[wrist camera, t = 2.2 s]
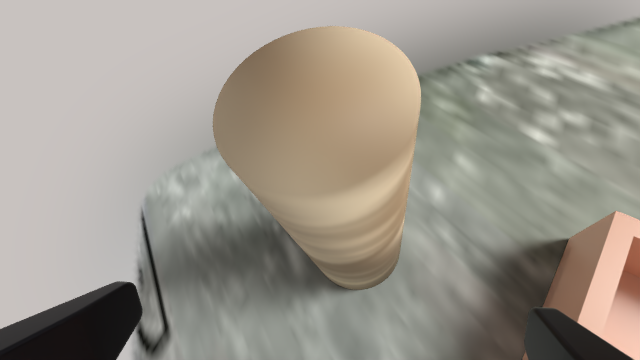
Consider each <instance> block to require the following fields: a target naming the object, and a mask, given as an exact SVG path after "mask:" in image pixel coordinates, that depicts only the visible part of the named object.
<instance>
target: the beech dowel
mask: <svg viewBox="0 0 640 360" xmlns="http://www.w3.org/2000/svg"><path fill="white" fill-rule="evenodd" d="M420 106H421V90H420V83H419V79H418V77H417V74H416V71H415V69H414V67H413V66H412V64H411V62H410V61H409V59H408V58H407V57H406V56H405V54H404V53H403V52H402V51H400V49H398V48H397V47H396V46H395V45H393V44H392V43H391V42H389V41H388V40H386V39H384V38H382V37H380V36H378V35H376V34H374V33H370V32H368V31H364V30H360V29H356V28H350V27H339V26H328V27H316V28H310V29H305V30H301V31H297V32H294V33H291V34H288V35H285V36H283V37H280V38H278V39H276V40H274V41H272V42H270V43H268V44H266V45H264V46H263V47H261V48H260V49H258V50H257V51H255V52H254V53H253V54H251V55H250V56H249V57H248V58H246V59H245V60H244V61H243V62H242V63H241V64H240V65H239V66H238V67H237V68H236V69H235V71H234V72H233V73H232V74H231V75H230V77H229V78H228V80H227V81H226V83H225V84H224V86H223V88H222V90H221V92H220V94H219V97H218V99H217V102H216V105H215V110H214V114H213V132H214V138H215V142H216V145H217V148H218V150H219V152H220V154H221V156H222V157H223V159H224V160H225V162H226V163H227V165H228V166H229V167H230V168H231V169H232V170H233V171H234V173H235V174H236V175H237V176H238V177H239V178H240V179H241V180H242V182H243V183H244V184H245V185H246V186H247V187H248V188H249V190H250V191H251V192H252V193H253V194H254V195H255V196H256V197H257V199H258V200H259V201H260V202H261V203H262V204H263V205H264V206H265V208H266V209H267V210H268V211H269V212H270V213H271V214H272V216H273V217H274V218H275V219H276V220H277V221H278V222H279V223H280V225H281V226H282V227H283V228H284V229H285V230H286V231H287V232H288V234H289V235H290V236H291V237H292V238H293V239H294V240H295V242H296V243H297V244H298V245H299V246H300V247H301V248H302V249H303V251H304V252H305V253H306V254H307V255H308V256H309V257H310V258H311V260H312V261H313V262H314V263H315V264H316V265H317V266H318V268H319V269H320V270H321V271H322V272H323V273H324V274H325V275H326V276H327V277H328V278H329V279H330V280H331V281H332V282H334V283H335V284H337V285H339V286H341V287H344V288H348V289H354V290H362V289H368V288H371V287H374V286H376V285H378V284H380V283H381V282H383V281H384V280H385V279H386V278H388V276H389V275H390V274H391V273H392V271H393V270H394V268H395V266H396V264H397V262H398V259H399V254H400V247H401V240H402V233H403V226H404V219H405V211H406V204H407V197H408V190H409V183H410V176H411V169H412V162H413V155H414V148H415V141H416V134H417V127H418V120H419V113H420Z"/></svg>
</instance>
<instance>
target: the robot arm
mask: <svg viewBox="0 0 640 360" xmlns="http://www.w3.org/2000/svg"><path fill="white" fill-rule="evenodd" d="M141 316H142V306H141V302H140V299H139V296H138V292H137V289H136V286H135V285H134V284H133V283H131V282H114V283H112V284H109V285H107V286H104V287H102V288H99V289H97V290H94V291H92V292H89V293H87V294H85V295H82V296H80V297H77V298H75V299H73V300H70V301H68V302H65V303H63V304H60V305H58V306H56V307H53V308H51V309H48V310H46V311H43V312H41V313H38V314H36V315H34V316H31V317H29V318H26V319H24V320H21V321H19V322H16V323H14V324H12V325H9V326H7V327H4V328H2V329H0V360H116V359H117V357H118V356H119V354H120V352H121V351H122V349H123V347H124V346H125V344H126V342H127V341H128V339H129V337H130V336H131V334H132V333H133V331H134V329H135V328H136V326H137V324H138V323H139V321H140V319H141ZM524 344H525V350H526V354H527V357H528V360H634V359H633V358H631V357H630V356H628V355H626V354H625V353H623V352H622V351H620V350H619V349H617V348H616V347H614V346H613V345H611V344H610V343H608V342H607V341H605V340H603V339H602V338H600V337H599V336H597V335H596V334H594V333H593V332H591V331H590V330H588V329H587V328H585V327H584V326H582V325H580V324H579V323H577V322H576V321H574V320H573V319H571V318H570V317H568V316H567V315H565V314H564V313H562V312H561V311H559V310H557V309H555V308H546V307H533V308H531V309H530V311H529V314H528V320H527V327H526V333H525V340H524Z"/></svg>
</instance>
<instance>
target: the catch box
mask: <svg viewBox="0 0 640 360" xmlns="http://www.w3.org/2000/svg"><path fill="white" fill-rule="evenodd" d="M543 307H546V308H555V309H557V310H559V311H561V312H562V313H564V314H565V315H567V316H568V317H570V318H571V319H573V320H574V321H576V322H577V323H579V324H580V325H582V326H584V327H585V328H587V329H588V330H590V331H591V332H593V333H594V334H596V335H597V336H599V337H600V338H602V339H603V340H605V341H607V342H608V343H610V344H611V345H613V346H614V347H616V348H617V349H619V350H620V351H622V352H623V353H625V354H626V355H628V356H630V357H631V358H633V359H634V360H640V220H638V219H635V218H633V217H630V216H628V215H625V214H623V213H620V212H618V211H615V212H613V213H612V214H610V215H608V216H607V217H605V218H603V219H601V220H600V221H598V222H596V223H595V224H593V225H591V226H589V227H588V228H586V229H584V230H583V231H581V232H579V233H577V234H576V235H574V236H572V237H571V238H569V240H568V243H567V245H566V248H565V251H564V253H563V256H562V258H561V261H560V263H559V266H558V269H557V271H556V274H555V276H554V279H553V282H552V284H551V287H550V289H549V292H548V294H547V297H546V300H545V302H544V305H543ZM522 360H528V357H527V354H526V351H525V354H524V356H523V359H522Z"/></svg>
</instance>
